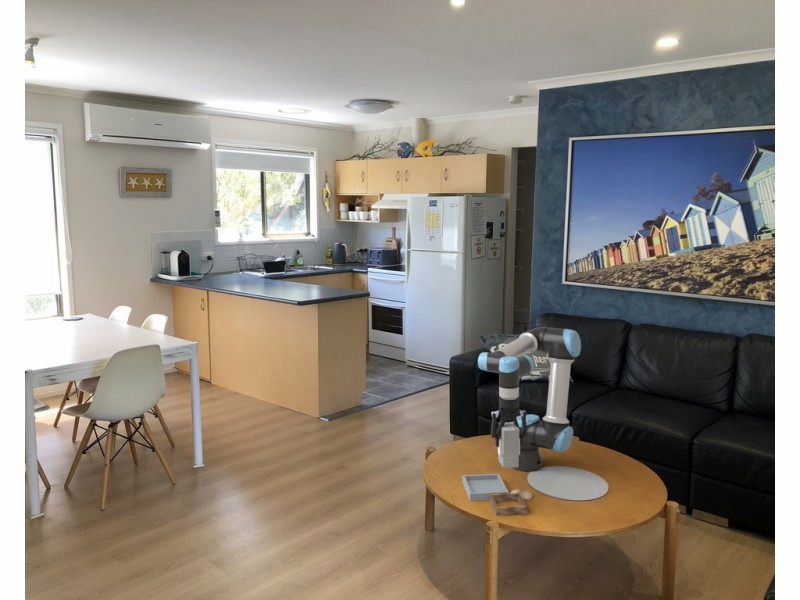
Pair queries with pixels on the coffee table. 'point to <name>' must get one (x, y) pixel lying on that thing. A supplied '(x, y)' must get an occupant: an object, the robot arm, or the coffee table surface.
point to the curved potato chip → (523, 493)
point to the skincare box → (509, 446)
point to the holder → (508, 510)
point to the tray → (483, 486)
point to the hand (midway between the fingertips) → (508, 453)
